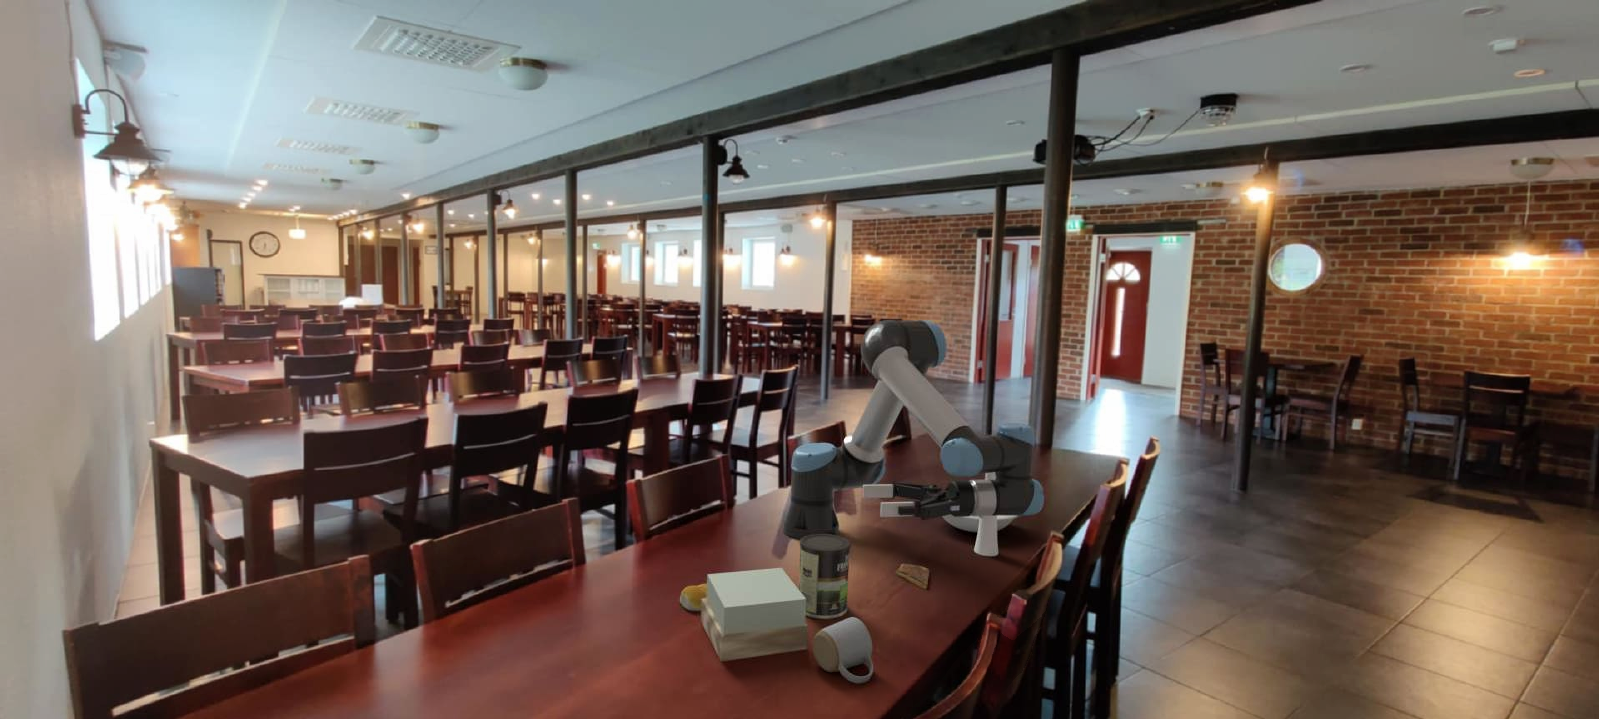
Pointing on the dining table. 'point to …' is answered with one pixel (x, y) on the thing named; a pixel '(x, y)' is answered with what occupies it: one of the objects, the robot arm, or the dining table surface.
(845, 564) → the coffee can
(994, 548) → the cosmetic bottle
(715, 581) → the sage block
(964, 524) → the soup bowl
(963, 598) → the dining table surface
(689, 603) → the bread roll
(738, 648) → the birch block
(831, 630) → the ceramic mug
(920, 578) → the brown sandwich half
